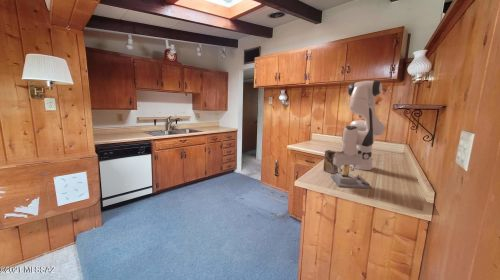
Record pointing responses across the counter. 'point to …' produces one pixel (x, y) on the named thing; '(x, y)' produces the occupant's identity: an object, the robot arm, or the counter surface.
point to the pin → (346, 171)
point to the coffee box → (330, 162)
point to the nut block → (350, 181)
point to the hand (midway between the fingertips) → (346, 171)
